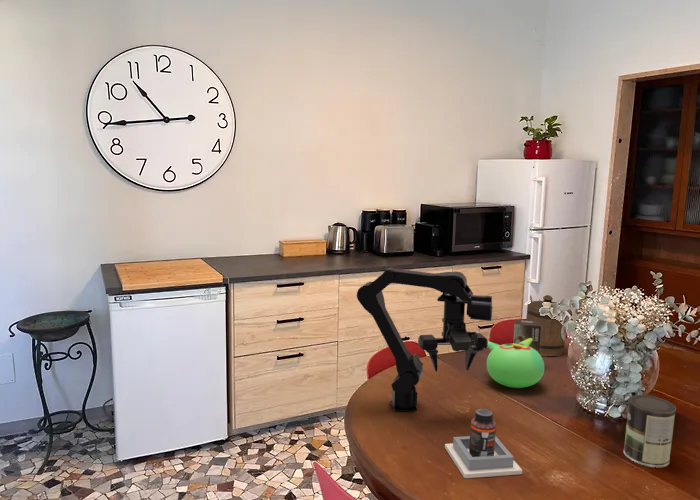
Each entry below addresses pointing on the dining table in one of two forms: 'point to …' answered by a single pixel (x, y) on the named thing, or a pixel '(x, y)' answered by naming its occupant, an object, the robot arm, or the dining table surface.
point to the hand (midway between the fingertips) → (451, 370)
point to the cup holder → (482, 460)
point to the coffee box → (528, 333)
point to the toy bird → (515, 364)
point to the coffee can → (649, 430)
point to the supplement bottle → (482, 434)
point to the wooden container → (547, 329)
